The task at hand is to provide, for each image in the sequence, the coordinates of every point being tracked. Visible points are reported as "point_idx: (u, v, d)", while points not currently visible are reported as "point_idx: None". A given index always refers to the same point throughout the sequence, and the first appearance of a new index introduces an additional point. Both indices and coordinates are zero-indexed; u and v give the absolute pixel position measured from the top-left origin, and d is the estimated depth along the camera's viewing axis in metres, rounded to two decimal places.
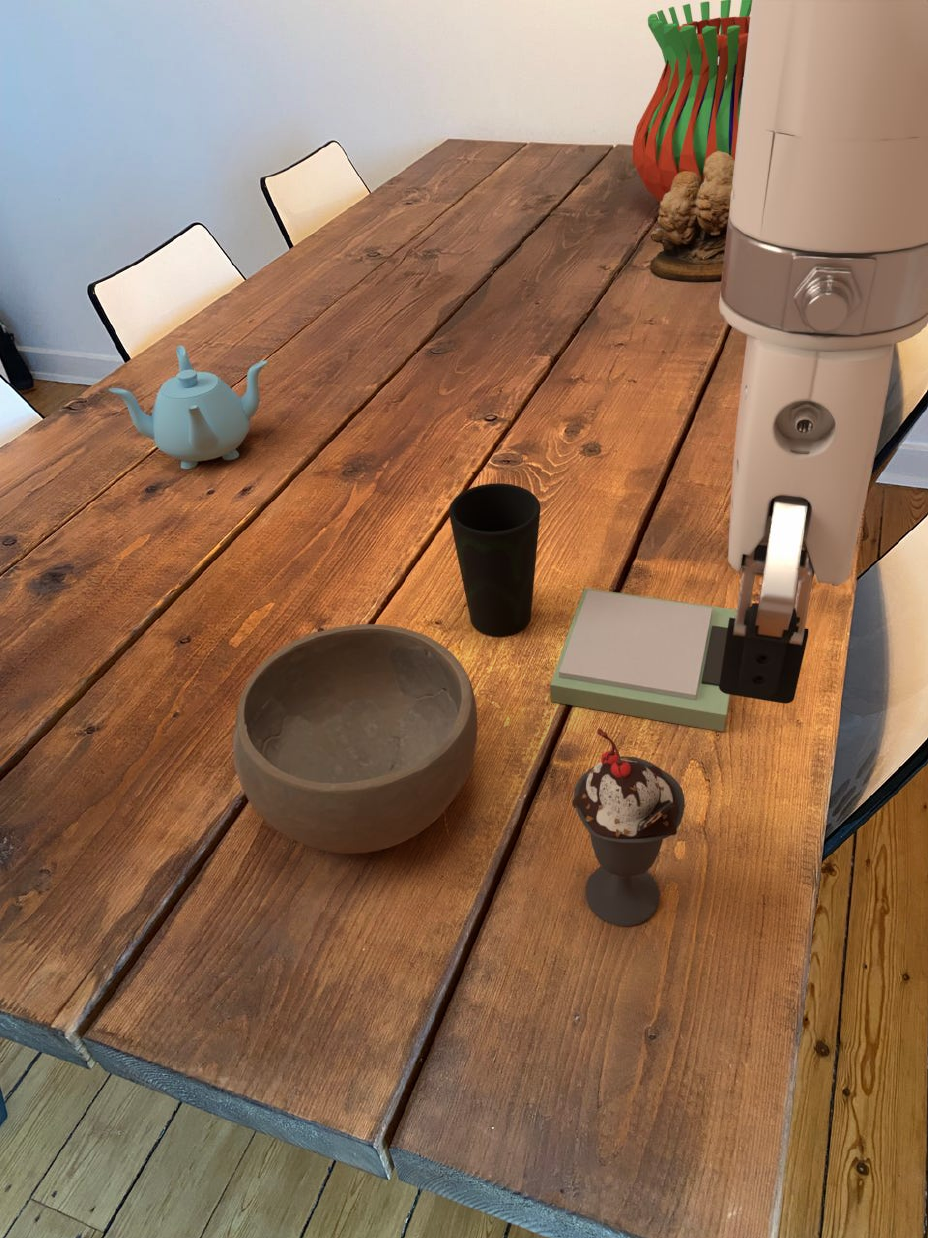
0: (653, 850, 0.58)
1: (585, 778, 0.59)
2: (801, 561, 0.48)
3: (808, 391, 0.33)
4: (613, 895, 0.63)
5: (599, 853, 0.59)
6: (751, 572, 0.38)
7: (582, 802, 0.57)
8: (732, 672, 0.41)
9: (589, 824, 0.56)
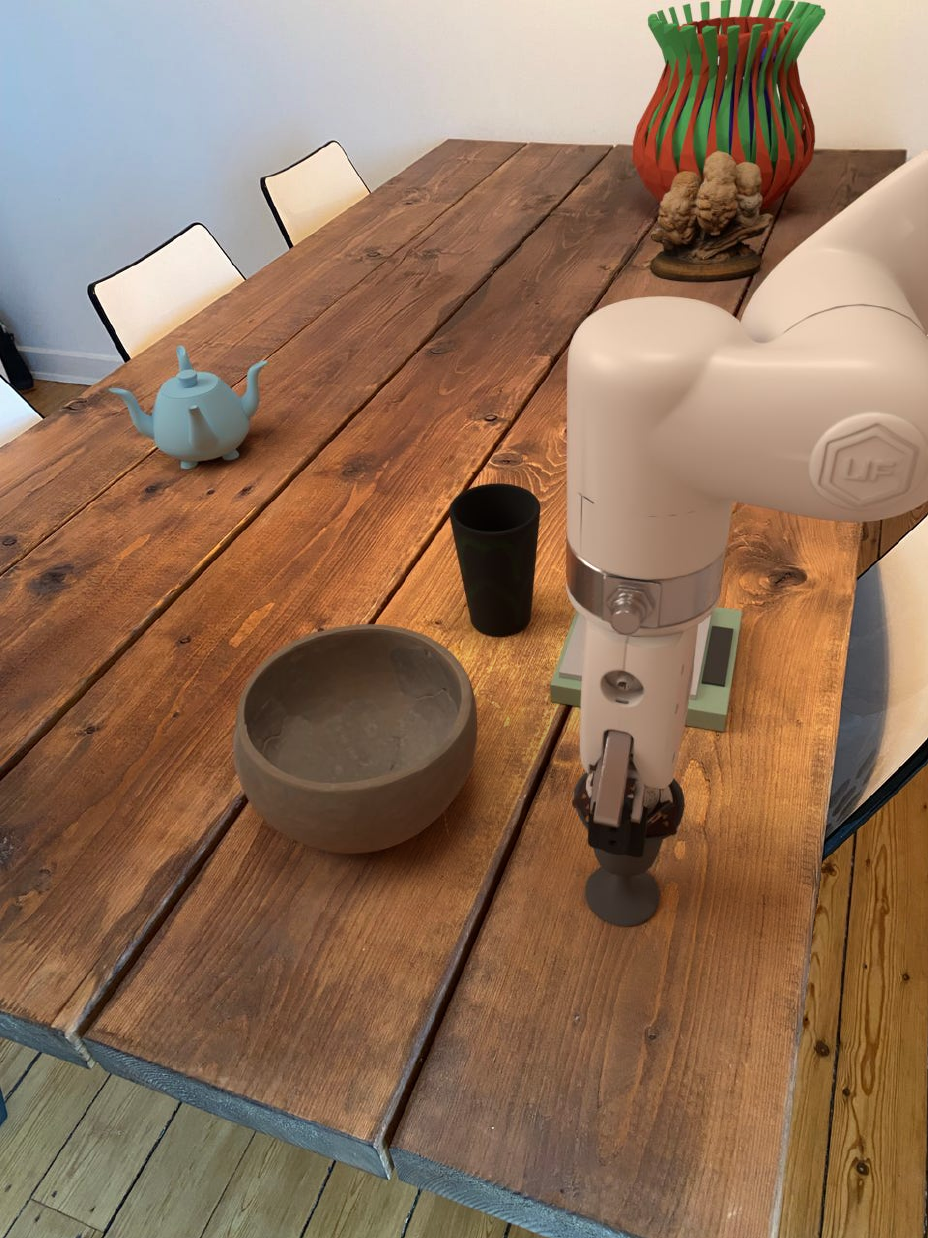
0: (653, 850, 0.58)
1: (585, 778, 0.59)
2: None
3: (622, 665, 0.44)
4: (613, 895, 0.63)
5: (599, 853, 0.59)
6: (600, 773, 0.50)
7: (582, 802, 0.57)
8: (596, 834, 0.54)
9: None
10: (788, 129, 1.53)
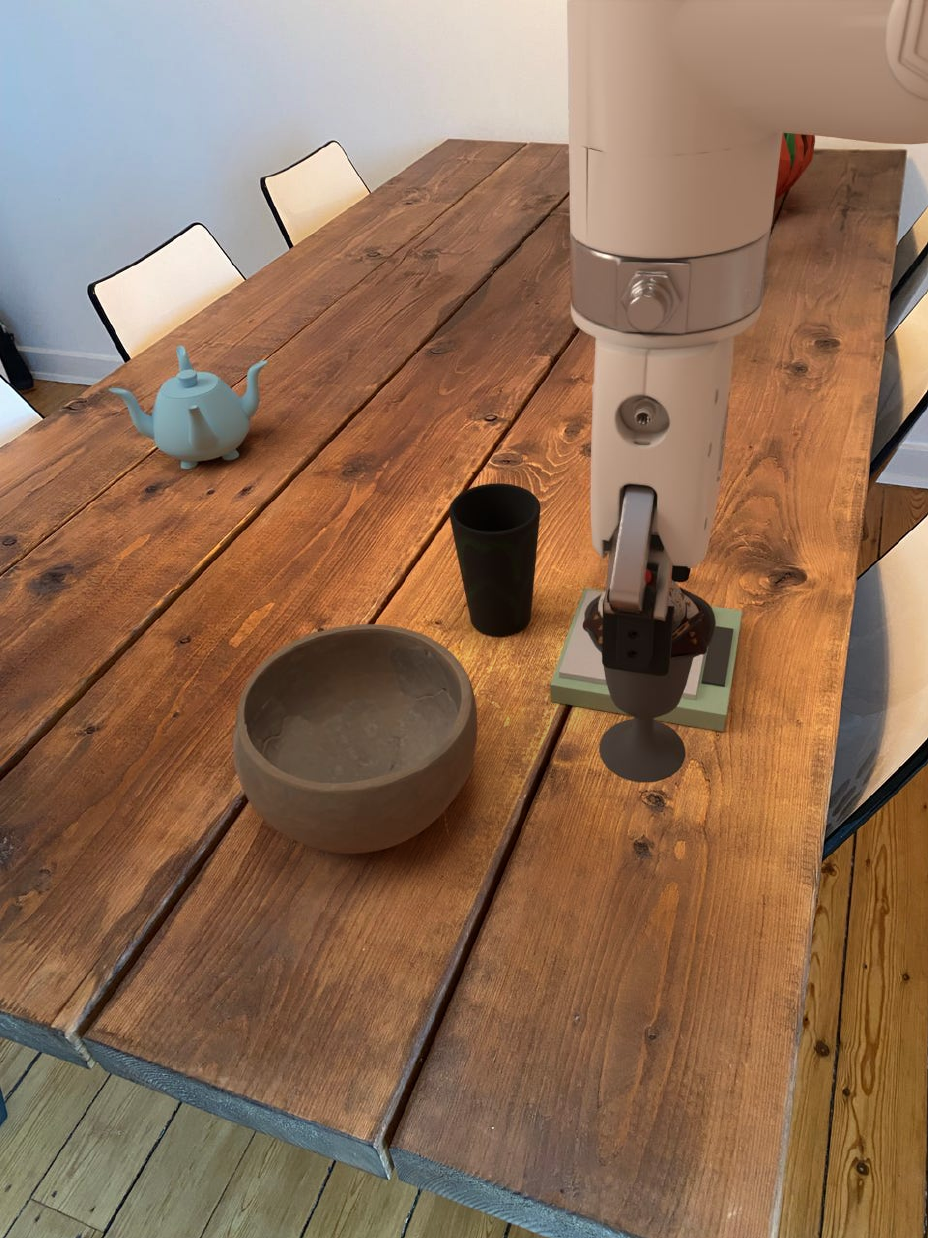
0: (679, 680, 0.49)
1: (597, 602, 0.50)
2: (685, 572, 0.50)
3: (642, 386, 0.36)
4: (632, 750, 0.54)
5: (615, 688, 0.50)
6: None
7: (594, 623, 0.48)
8: (612, 648, 0.45)
9: None
10: None
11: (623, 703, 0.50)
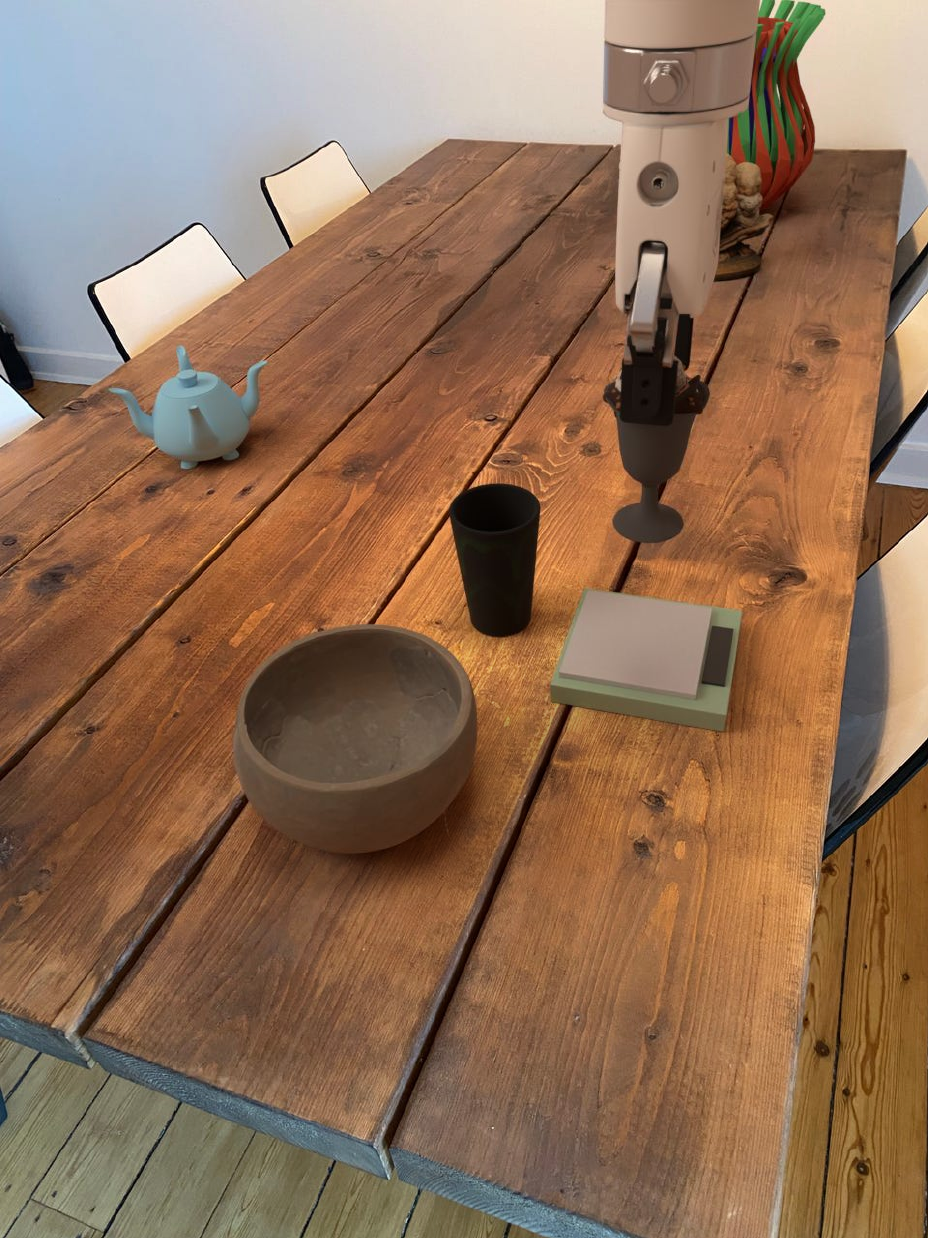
0: (679, 443, 0.60)
1: (614, 384, 0.62)
2: (685, 361, 0.62)
3: (658, 155, 0.47)
4: (640, 518, 0.66)
5: (628, 454, 0.62)
6: None
7: (612, 394, 0.60)
8: (628, 402, 0.57)
9: (619, 410, 0.59)
10: (788, 129, 1.53)
11: (634, 467, 0.62)
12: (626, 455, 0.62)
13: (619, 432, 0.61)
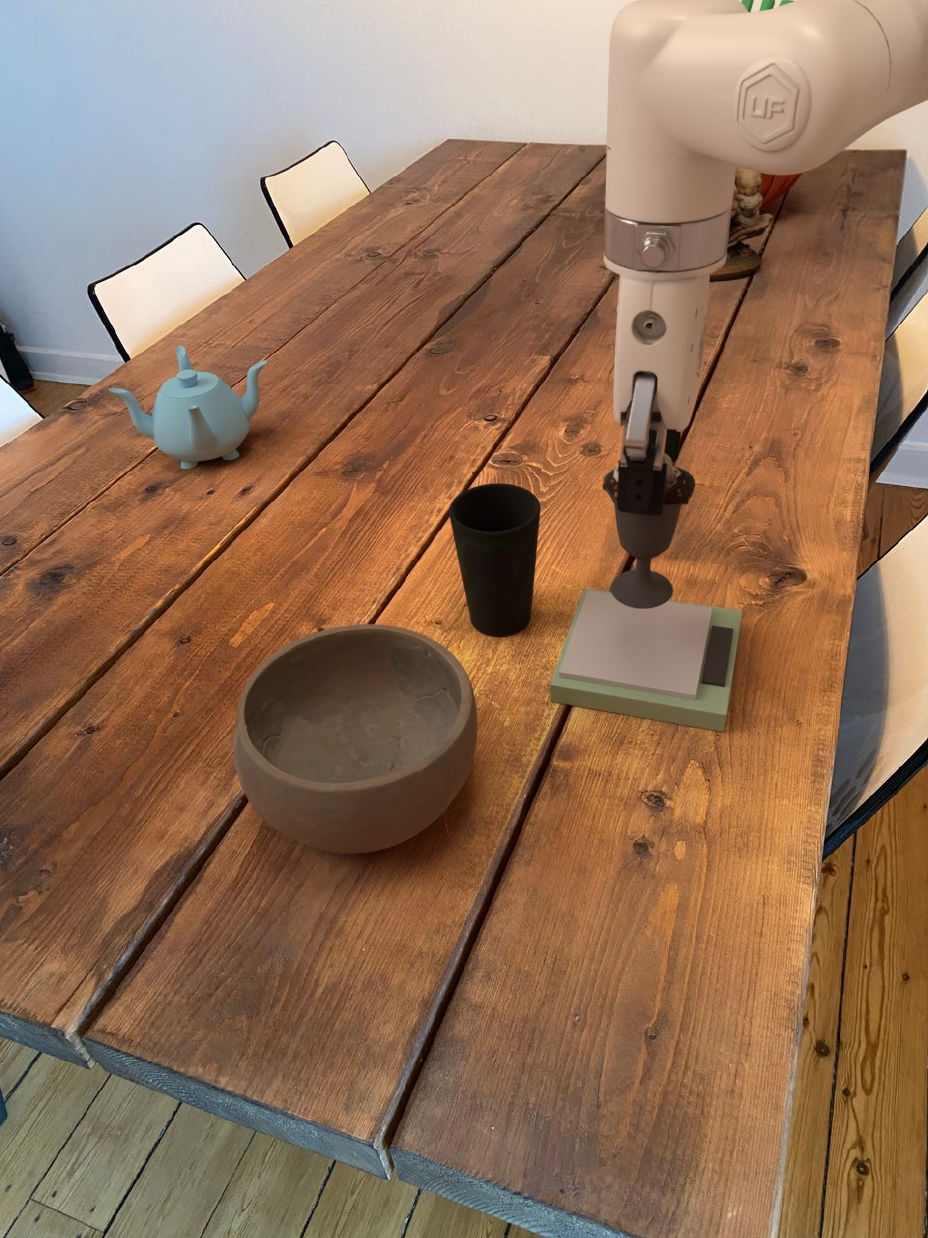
0: (669, 526, 0.70)
1: (612, 473, 0.71)
2: (675, 453, 0.71)
3: (649, 305, 0.56)
4: (634, 586, 0.75)
5: (624, 534, 0.71)
6: None
7: (610, 484, 0.69)
8: (624, 495, 0.66)
9: (616, 499, 0.69)
10: None
11: (629, 545, 0.71)
12: (622, 535, 0.71)
13: (616, 515, 0.71)
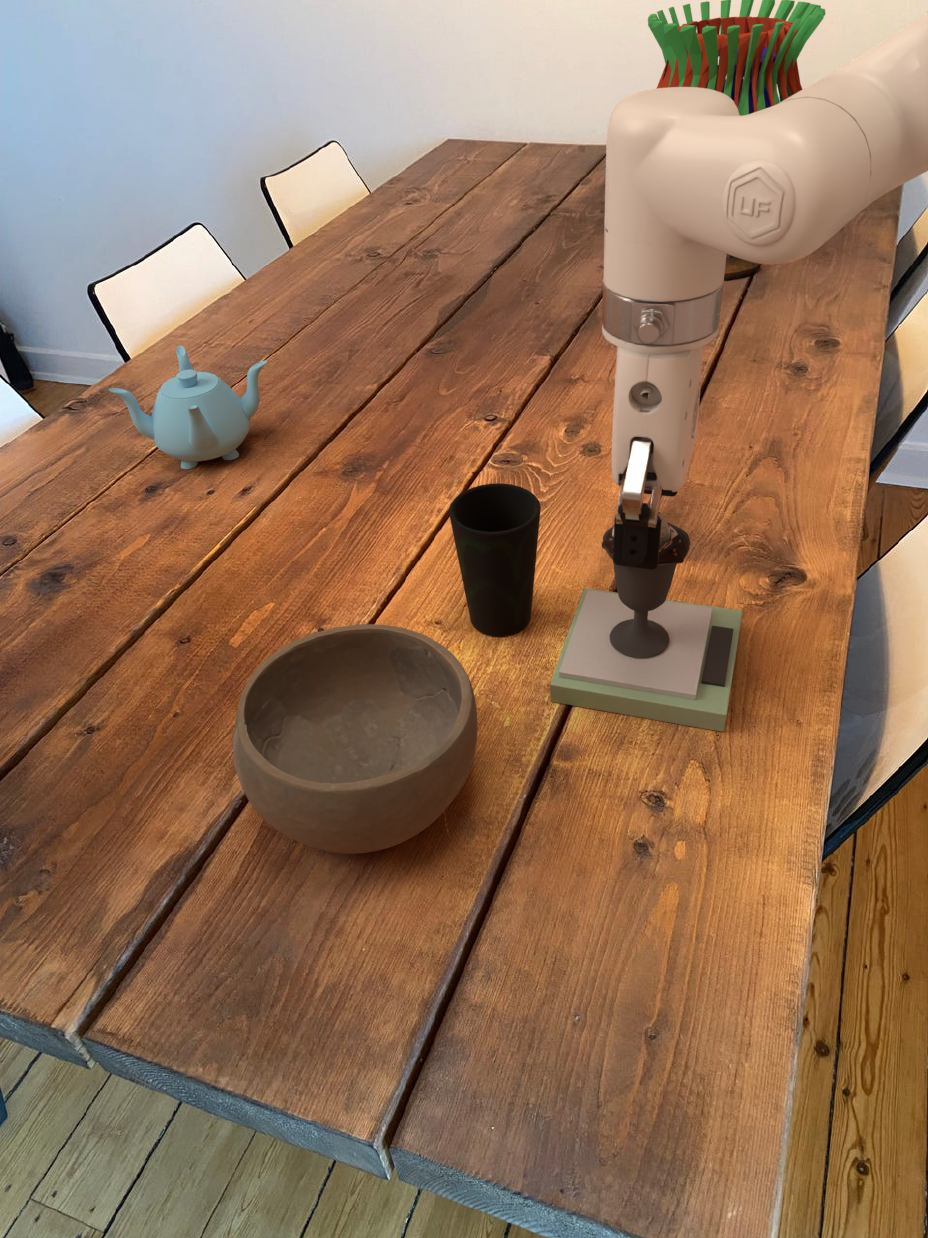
0: (665, 582, 0.73)
1: (611, 530, 0.75)
2: None
3: (645, 376, 0.59)
4: (632, 636, 0.78)
5: (622, 589, 0.74)
6: None
7: (609, 543, 0.73)
8: (619, 550, 0.68)
9: None
10: None
11: (627, 599, 0.75)
12: (621, 590, 0.75)
13: (615, 571, 0.74)
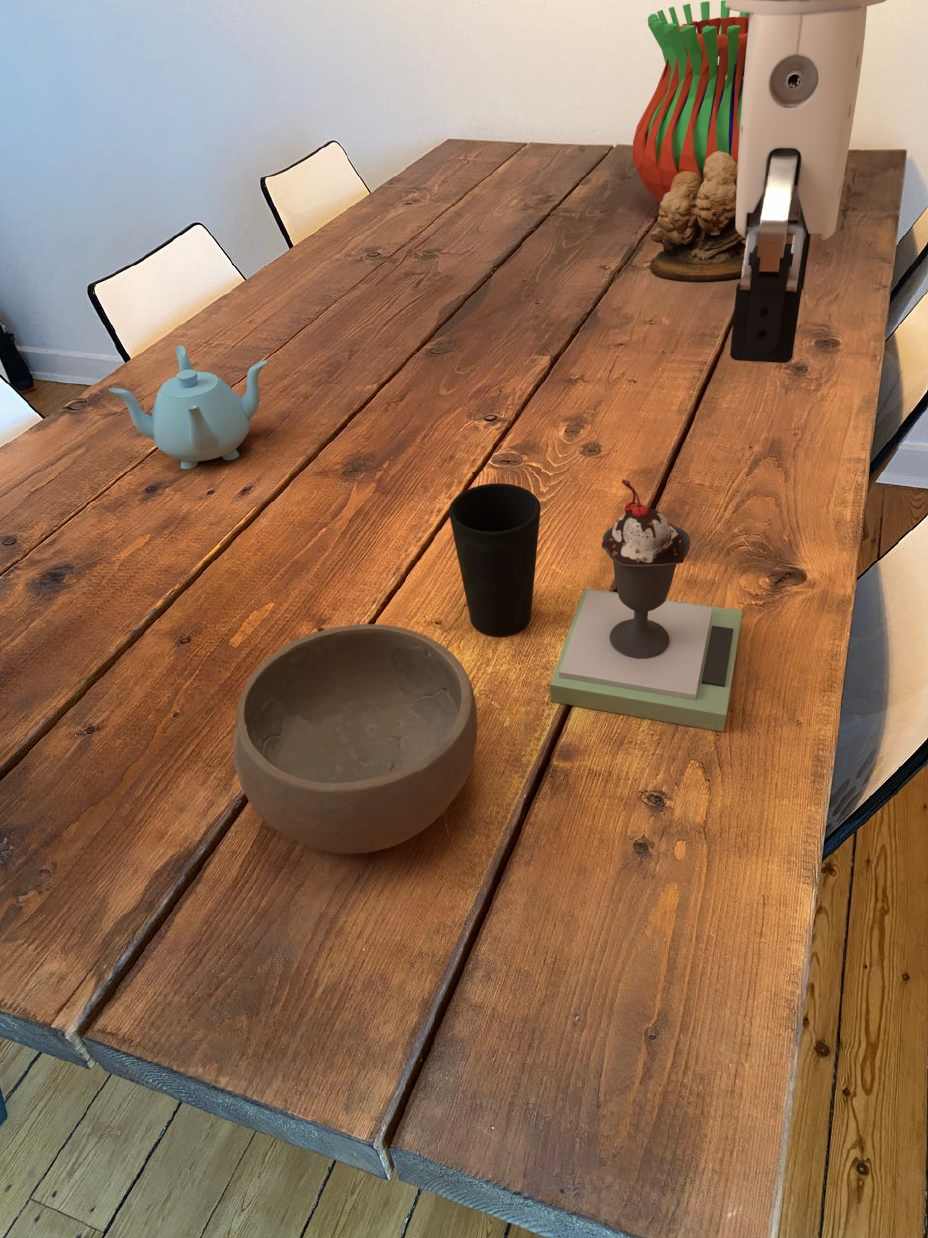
0: (665, 582, 0.73)
1: (611, 530, 0.75)
2: (800, 281, 0.57)
3: (796, 46, 0.42)
4: (632, 636, 0.78)
5: (622, 589, 0.74)
6: (754, 233, 0.47)
7: (609, 543, 0.73)
8: (740, 336, 0.50)
9: (615, 558, 0.72)
10: None
11: (627, 599, 0.75)
12: (621, 590, 0.75)
13: (615, 571, 0.74)
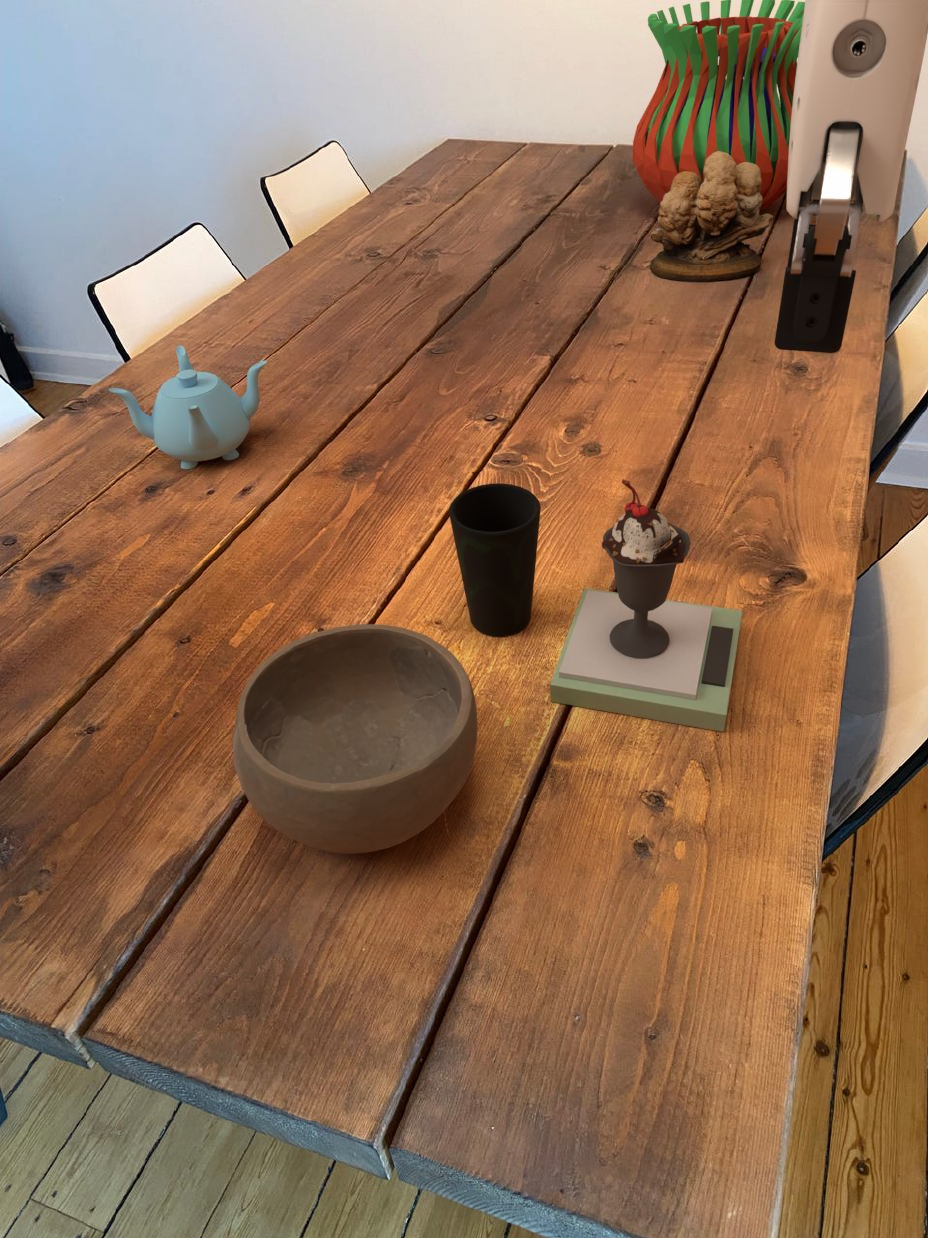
0: (665, 582, 0.73)
1: (611, 531, 0.75)
2: None
3: (863, 10, 0.39)
4: (632, 636, 0.78)
5: (622, 589, 0.74)
6: (807, 213, 0.44)
7: (609, 543, 0.73)
8: (787, 324, 0.47)
9: (615, 558, 0.72)
10: (788, 129, 1.53)
11: (627, 599, 0.75)
12: (621, 590, 0.75)
13: (615, 571, 0.74)
